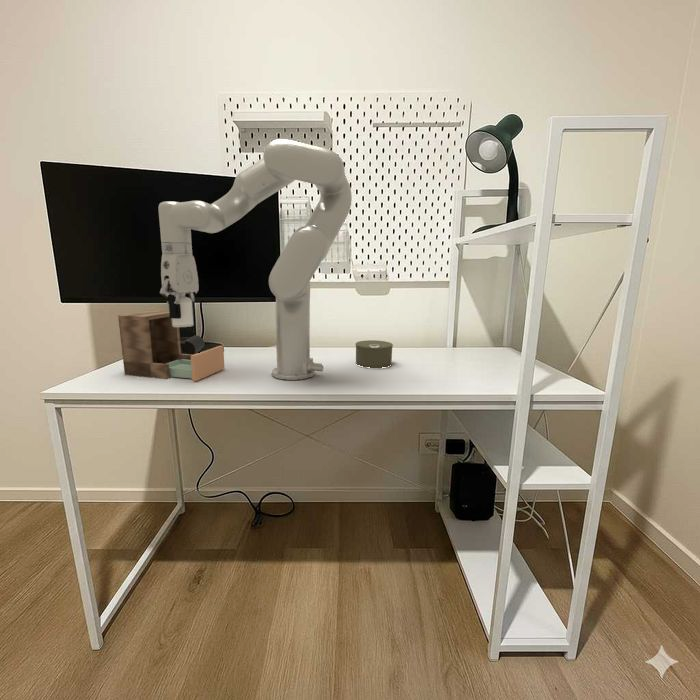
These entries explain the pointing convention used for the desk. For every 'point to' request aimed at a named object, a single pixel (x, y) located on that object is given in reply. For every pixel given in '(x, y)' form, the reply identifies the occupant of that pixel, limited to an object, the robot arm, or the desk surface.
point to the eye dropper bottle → (184, 312)
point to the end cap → (191, 344)
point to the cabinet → (149, 343)
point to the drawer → (198, 364)
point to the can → (374, 353)
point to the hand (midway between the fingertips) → (182, 316)
